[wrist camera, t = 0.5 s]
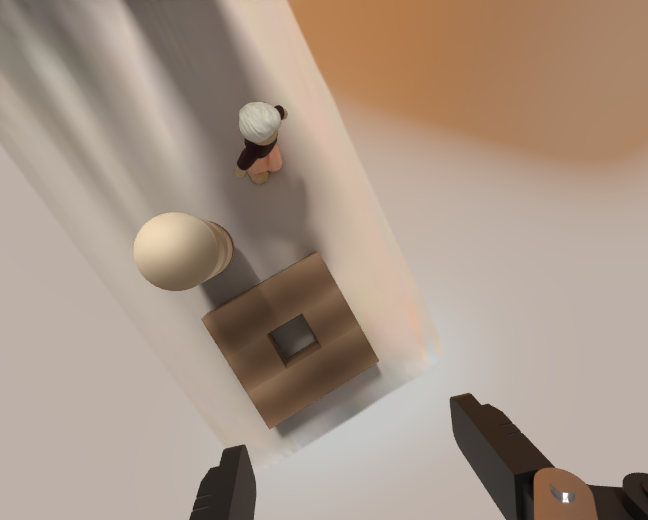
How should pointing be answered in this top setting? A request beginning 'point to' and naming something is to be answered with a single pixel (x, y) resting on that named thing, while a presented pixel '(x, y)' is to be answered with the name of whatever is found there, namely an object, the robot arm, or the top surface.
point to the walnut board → (307, 364)
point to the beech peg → (182, 251)
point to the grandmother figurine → (260, 140)
